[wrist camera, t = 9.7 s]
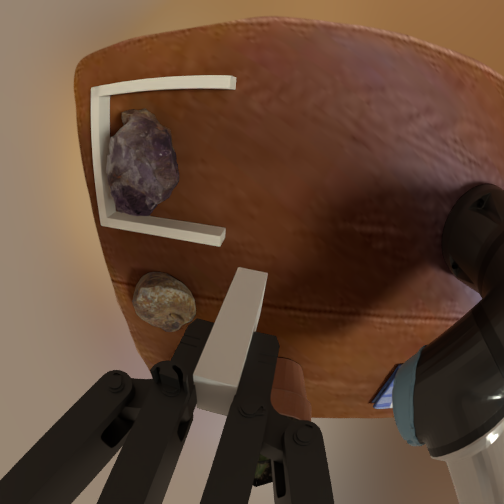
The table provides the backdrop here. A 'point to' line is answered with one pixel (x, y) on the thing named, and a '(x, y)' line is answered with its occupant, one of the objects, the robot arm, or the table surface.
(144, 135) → the rock
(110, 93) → the bay
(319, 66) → the table surface
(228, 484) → the robot arm
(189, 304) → the oyster shell
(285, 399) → the potted plant
